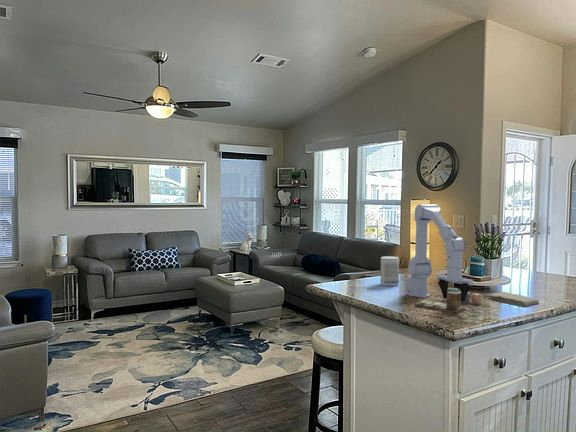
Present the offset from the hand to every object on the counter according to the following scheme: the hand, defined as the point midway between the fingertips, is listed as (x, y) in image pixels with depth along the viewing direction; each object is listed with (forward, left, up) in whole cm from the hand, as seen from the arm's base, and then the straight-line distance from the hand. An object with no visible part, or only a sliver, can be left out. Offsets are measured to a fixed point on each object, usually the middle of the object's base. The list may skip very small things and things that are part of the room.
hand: (453, 299), depth 177 cm
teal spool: (-7, +18, -4) cm, 20 cm away
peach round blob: (+3, +19, -4) cm, 20 cm away
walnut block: (0, 0, -3) cm, 3 cm away
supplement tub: (-45, +30, -5) cm, 54 cm away
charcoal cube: (-2, +17, -4) cm, 18 cm away
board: (-6, 0, -4) cm, 7 cm away
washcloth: (+14, +34, -5) cm, 38 cm away
